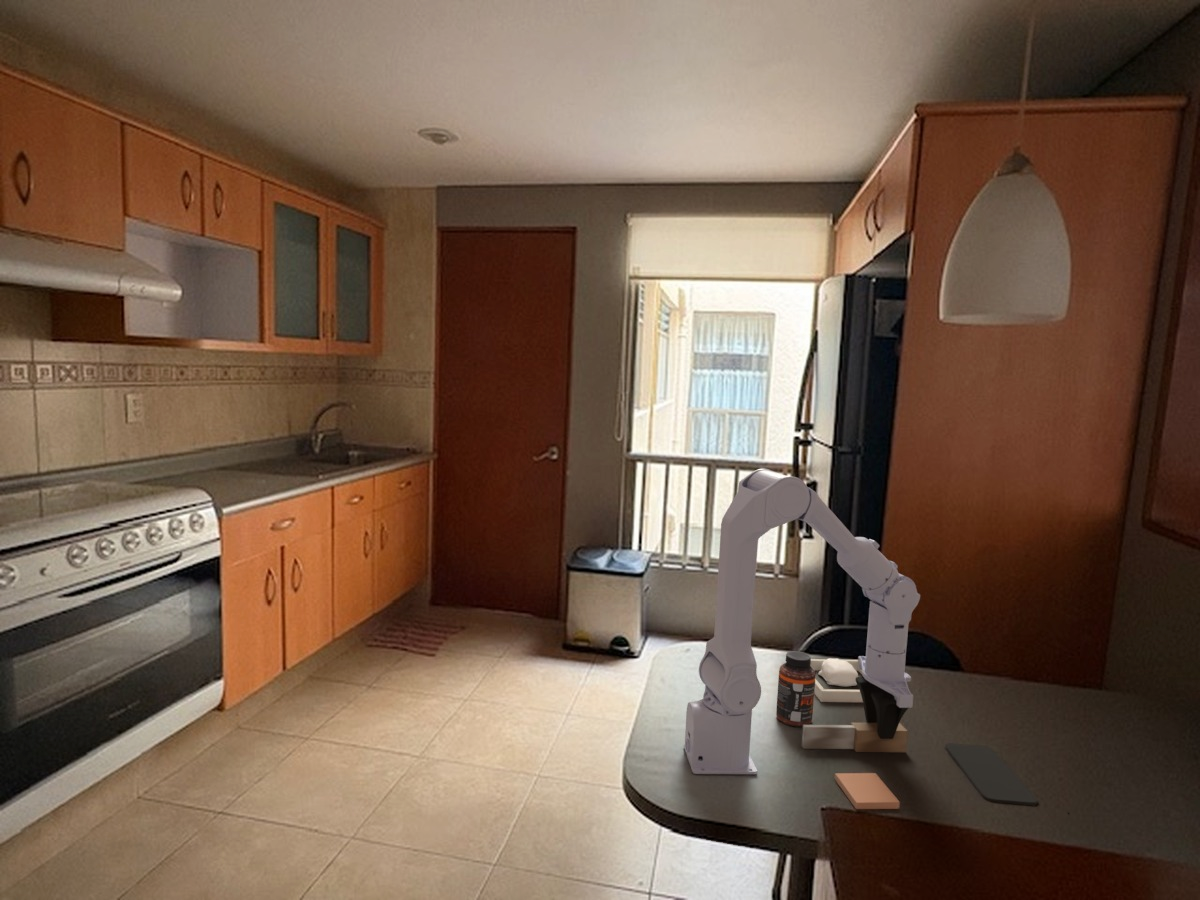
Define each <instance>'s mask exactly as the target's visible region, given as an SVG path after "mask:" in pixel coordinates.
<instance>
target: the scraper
mask: <svg viewBox="0 0 1200 900" xmlns="http://www.w3.org/2000/svg"><path fill="white" fill-rule="evenodd" d="M907 740H908V730H907V729H906V728H905V726H904V725H903V724H902V723H901V722H899V725H898V727H897V730H896V733H895V735H894V737H893V739H881V738H880V737H879V736H878V731H877V723H867V722H850V724H809V725H803V726H802V736H801V747H802V749H807V750H808V749H810V750H812V749H813V750H814V749H816V750H819V749H820V750H853V751H854V752H856V753H907V743H908V741H907Z"/></svg>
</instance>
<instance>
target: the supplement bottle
mask: <svg viewBox="0 0 1200 900" xmlns="http://www.w3.org/2000/svg"><path fill="white" fill-rule="evenodd" d="M811 659H812V658H811V656H810V654H808V653H806V652H803V651H799V650H798V651H796V650H793V651H791V650H790V651H788V652H786V653H785V662H783V664H781V665H780V666H779V669H778V670H779V671H778V682H777V683H778V684H777V696H776V697H777V698H776V718H777V719H778V720H779V721H780V722H782V723H783V724H785V725H787V726H791V727H796V728H797V727H798V728H800V727H801V728H803V725H811V723H812V721H813V713H814V703H815V702H814V701H815V698H814V697H815V694H814V689H815V679H816V670H813V669H812V668H811V666H810V664H811Z"/></svg>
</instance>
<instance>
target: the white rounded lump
mask: <svg viewBox="0 0 1200 900" xmlns="http://www.w3.org/2000/svg"><path fill="white" fill-rule="evenodd" d="M826 659H827V660H825V661H824V662H823V664H822V669H821V670H818V673H817V674H818V676H820V677H822V678H823V679H824V680H825V681H826V683H827V685H830V686H838V687H841V688H842V687H843V688H844V687H846V688H847V687H852V686H858V685H857V683H856V677H859V672H858V671H856V670H855V669H854V668H853V666H852V665H851V664H850V663H848V662H847V661H844V660H845V659H840V658H838V657H837V658H831V657H828V658H826Z"/></svg>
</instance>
